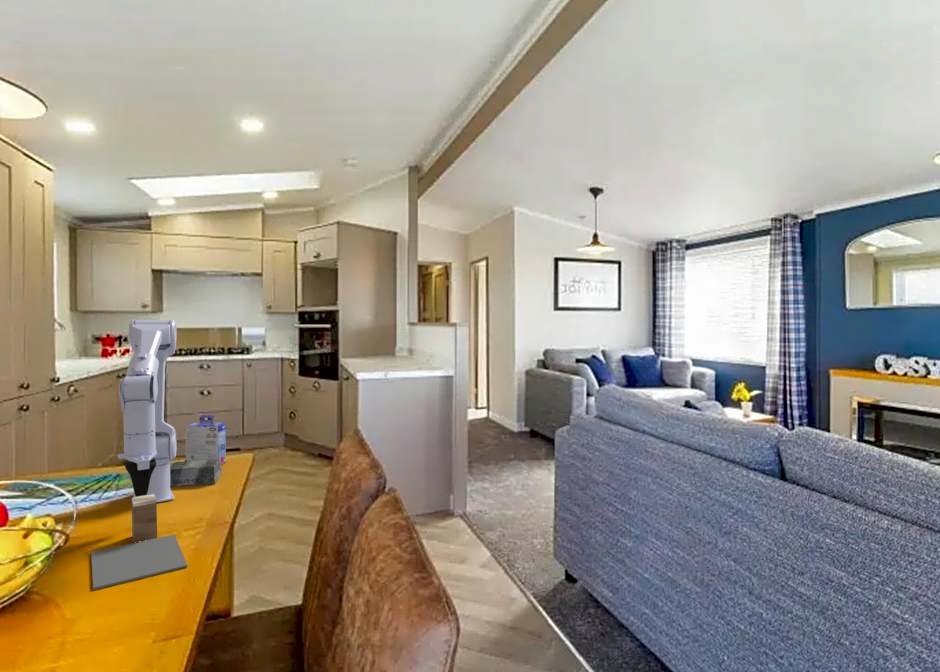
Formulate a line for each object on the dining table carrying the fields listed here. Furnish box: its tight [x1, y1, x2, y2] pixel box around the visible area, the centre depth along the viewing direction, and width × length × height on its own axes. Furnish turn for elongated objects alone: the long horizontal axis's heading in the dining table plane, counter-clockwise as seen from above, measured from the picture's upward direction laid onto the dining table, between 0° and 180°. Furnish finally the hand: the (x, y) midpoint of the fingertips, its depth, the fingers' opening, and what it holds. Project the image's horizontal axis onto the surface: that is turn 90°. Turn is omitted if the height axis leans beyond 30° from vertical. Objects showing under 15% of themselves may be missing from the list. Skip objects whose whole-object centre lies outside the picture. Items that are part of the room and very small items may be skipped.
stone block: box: [170, 459, 223, 487], centre depth 146 cm, size 9×14×5 cm, turn 101°
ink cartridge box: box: [185, 414, 227, 465], centre depth 160 cm, size 10×6×14 cm, turn 91°
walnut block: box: [131, 494, 158, 543], centre depth 110 cm, size 4×4×8 cm
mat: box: [90, 534, 188, 591], centre depth 100 cm, size 16×14×1 cm
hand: (141, 494), depth 115 cm, fingers closed
